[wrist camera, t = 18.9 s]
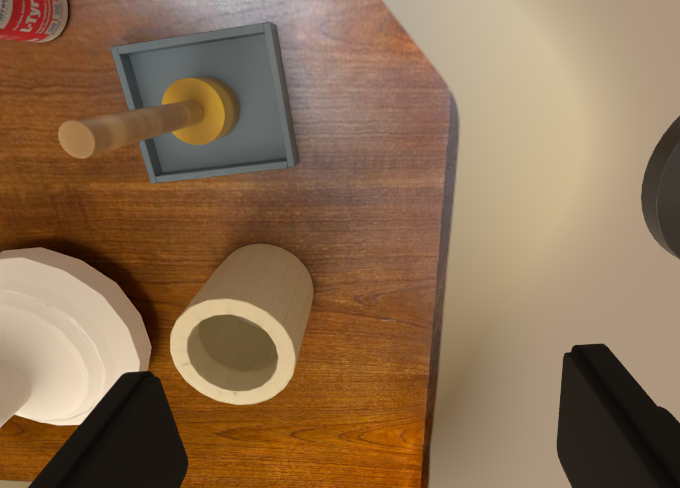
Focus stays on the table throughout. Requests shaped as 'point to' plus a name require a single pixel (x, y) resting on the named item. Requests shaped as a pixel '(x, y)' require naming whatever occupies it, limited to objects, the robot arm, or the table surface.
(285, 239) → the table surface
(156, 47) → the tray
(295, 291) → the jar
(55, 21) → the pill bottle
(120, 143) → the brush
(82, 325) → the candle holder
